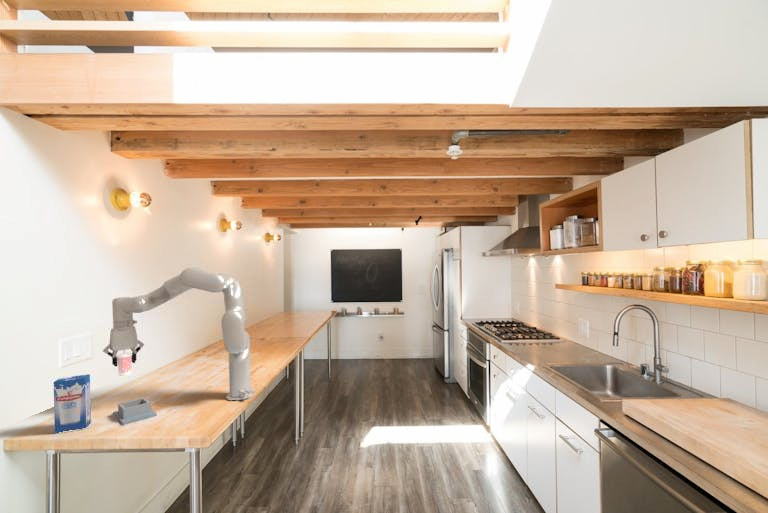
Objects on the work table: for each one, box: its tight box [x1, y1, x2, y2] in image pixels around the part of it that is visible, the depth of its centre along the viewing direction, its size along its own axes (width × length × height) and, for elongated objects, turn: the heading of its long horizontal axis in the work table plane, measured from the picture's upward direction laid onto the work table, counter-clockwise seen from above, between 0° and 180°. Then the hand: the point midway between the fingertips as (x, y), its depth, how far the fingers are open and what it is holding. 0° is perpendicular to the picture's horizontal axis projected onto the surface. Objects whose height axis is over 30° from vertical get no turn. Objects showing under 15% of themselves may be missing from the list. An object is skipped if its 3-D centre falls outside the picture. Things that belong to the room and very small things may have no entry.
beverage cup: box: [116, 350, 132, 377], centre depth 170 cm, size 6×6×14 cm
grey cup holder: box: [112, 397, 157, 426], centre depth 162 cm, size 18×12×5 cm, turn 46°
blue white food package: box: [53, 374, 92, 434], centre depth 150 cm, size 10×6×20 cm, turn 114°
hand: (124, 363), depth 170 cm, fingers closed on beverage cup, 6 cm apart
